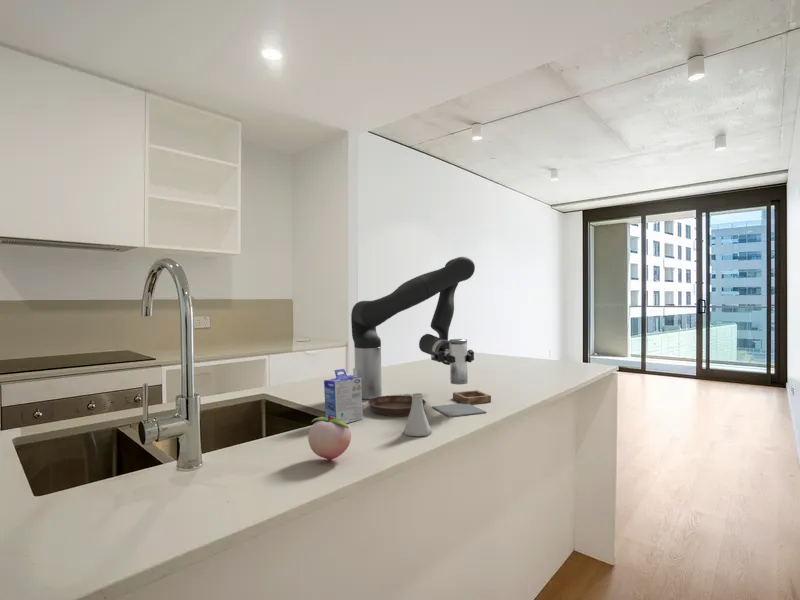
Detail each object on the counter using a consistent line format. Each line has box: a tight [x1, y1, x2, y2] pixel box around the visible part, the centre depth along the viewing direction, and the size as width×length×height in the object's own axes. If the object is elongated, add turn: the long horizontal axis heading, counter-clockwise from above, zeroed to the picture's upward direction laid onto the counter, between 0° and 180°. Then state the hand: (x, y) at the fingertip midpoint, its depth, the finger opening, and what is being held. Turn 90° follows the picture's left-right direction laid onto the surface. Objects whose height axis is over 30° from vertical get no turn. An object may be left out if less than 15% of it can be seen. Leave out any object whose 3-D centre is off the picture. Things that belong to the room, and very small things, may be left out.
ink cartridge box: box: [323, 368, 363, 424], centre depth 129 cm, size 10×6×14 cm, turn 137°
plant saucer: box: [367, 394, 427, 417], centre depth 141 cm, size 18×18×3 cm
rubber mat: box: [432, 402, 487, 418], centre depth 140 cm, size 12×12×1 cm
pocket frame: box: [452, 390, 492, 405], centre depth 152 cm, size 9×9×2 cm
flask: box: [403, 392, 433, 437], centre depth 118 cm, size 7×7×10 cm
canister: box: [448, 338, 469, 386], centre depth 139 cm, size 5×5×13 cm
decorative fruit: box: [307, 414, 352, 461], centre depth 99 cm, size 9×8×10 cm
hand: (461, 359), depth 137 cm, fingers closed on canister, 5 cm apart
